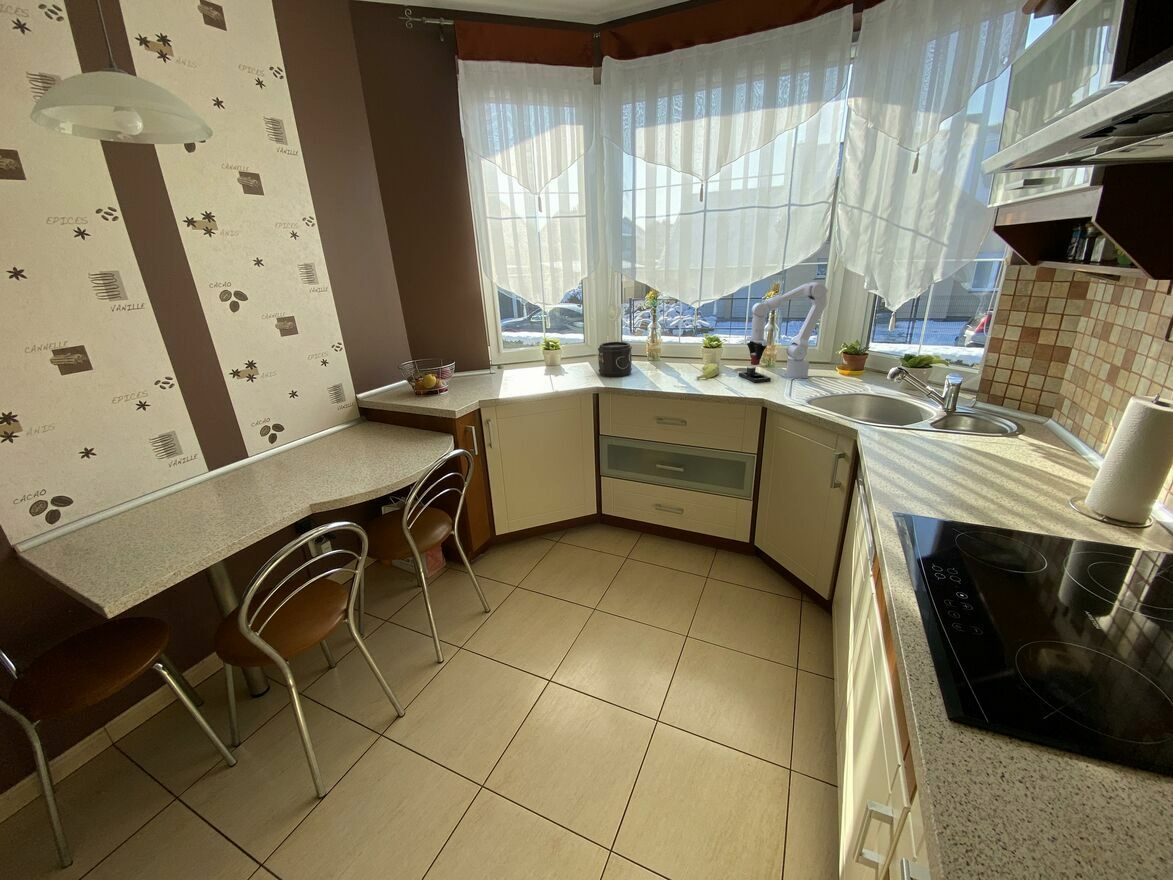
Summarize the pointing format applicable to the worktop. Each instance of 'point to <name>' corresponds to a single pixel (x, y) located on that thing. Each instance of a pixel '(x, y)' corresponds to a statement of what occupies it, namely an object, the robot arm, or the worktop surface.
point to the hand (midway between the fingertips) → (755, 358)
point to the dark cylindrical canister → (615, 359)
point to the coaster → (741, 369)
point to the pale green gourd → (709, 371)
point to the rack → (755, 377)
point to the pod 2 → (754, 359)
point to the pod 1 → (751, 370)
